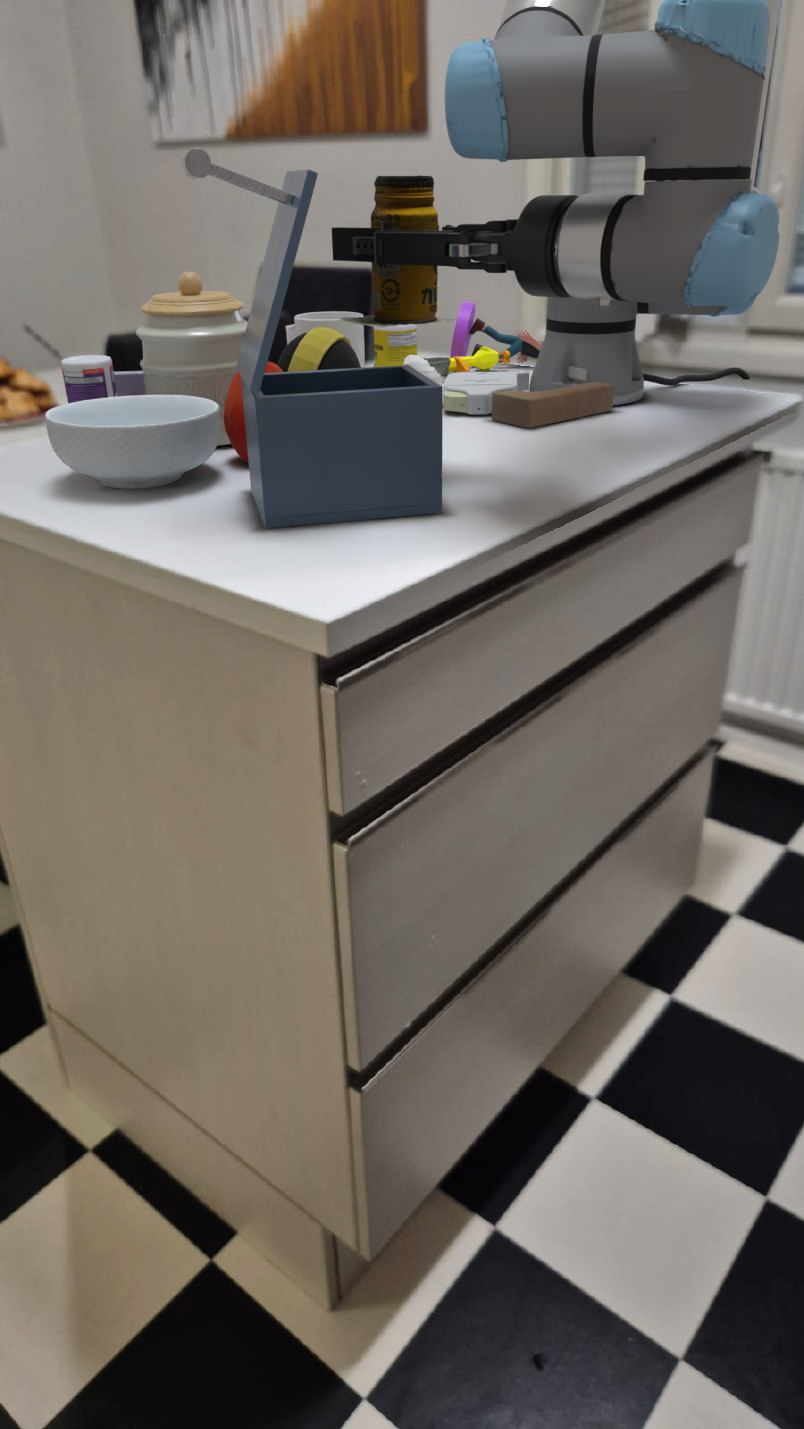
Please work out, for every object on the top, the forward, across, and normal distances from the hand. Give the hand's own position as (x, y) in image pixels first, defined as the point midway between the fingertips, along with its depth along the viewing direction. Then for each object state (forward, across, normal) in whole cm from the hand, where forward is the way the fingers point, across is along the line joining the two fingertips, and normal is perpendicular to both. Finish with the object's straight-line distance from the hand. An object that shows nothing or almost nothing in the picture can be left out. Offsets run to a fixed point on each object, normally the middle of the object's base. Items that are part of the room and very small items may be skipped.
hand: (359, 242), depth 92 cm
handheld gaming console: (+5, +28, -20) cm, 34 cm away
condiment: (-5, -1, -7) cm, 8 cm away
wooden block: (-1, +26, -19) cm, 32 cm away
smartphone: (+39, -3, -18) cm, 43 cm away
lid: (-3, -14, -2) cm, 15 cm away
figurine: (+31, +57, -16) cm, 67 cm away
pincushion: (+16, +32, -18) cm, 40 cm away
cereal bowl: (+16, -16, -21) cm, 31 cm away
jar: (+25, 0, -21) cm, 33 cm away
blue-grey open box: (-6, -10, -21) cm, 24 cm away
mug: (+27, +23, -21) cm, 41 cm away
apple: (+11, -4, -21) cm, 24 cm away
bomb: (+24, +12, -14) cm, 30 cm away
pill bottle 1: (+31, -11, -11) cm, 35 cm away
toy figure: (+21, +58, -19) cm, 64 cm away
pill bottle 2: (+28, +40, -21) cm, 53 cm away
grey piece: (+30, +43, -21) cm, 57 cm away
